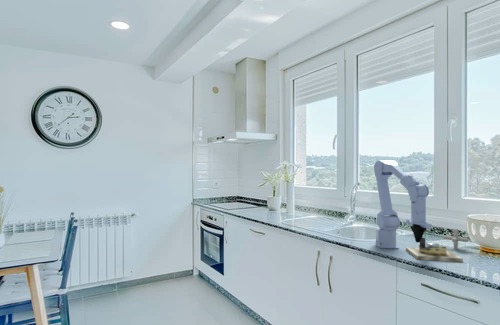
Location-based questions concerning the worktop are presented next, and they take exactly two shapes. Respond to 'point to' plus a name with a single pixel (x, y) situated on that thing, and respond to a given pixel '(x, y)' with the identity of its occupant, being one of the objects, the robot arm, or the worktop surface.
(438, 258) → the beige flat board
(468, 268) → the worktop surface
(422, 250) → the crank handle
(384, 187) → the robot arm
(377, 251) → the worktop surface
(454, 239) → the pipe connector
